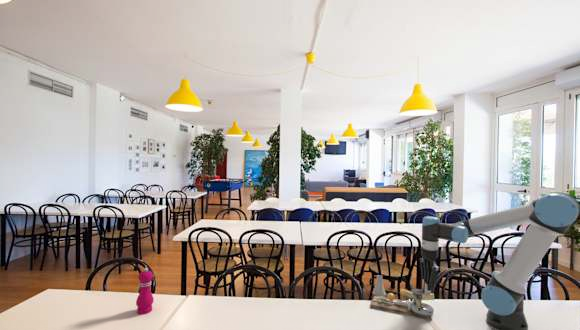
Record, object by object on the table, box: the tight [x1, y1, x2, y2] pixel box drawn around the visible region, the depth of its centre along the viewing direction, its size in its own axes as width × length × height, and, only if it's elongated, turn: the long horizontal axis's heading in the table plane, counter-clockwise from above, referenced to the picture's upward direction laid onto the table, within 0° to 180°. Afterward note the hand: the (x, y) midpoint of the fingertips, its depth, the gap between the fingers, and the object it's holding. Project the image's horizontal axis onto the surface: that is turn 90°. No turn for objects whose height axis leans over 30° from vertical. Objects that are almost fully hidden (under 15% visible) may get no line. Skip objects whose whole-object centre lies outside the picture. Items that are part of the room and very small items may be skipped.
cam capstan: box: [399, 288, 435, 317], centre depth 143 cm, size 16×14×8 cm
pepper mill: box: [135, 267, 154, 315], centre depth 137 cm, size 7×7×20 cm
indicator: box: [386, 292, 411, 310], centre depth 147 cm, size 11×8×5 cm
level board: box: [370, 294, 432, 321], centre depth 146 cm, size 27×12×2 cm, turn 67°
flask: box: [371, 274, 387, 297], centre depth 161 cm, size 7×7×10 cm
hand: (427, 295), depth 146 cm, fingers closed
